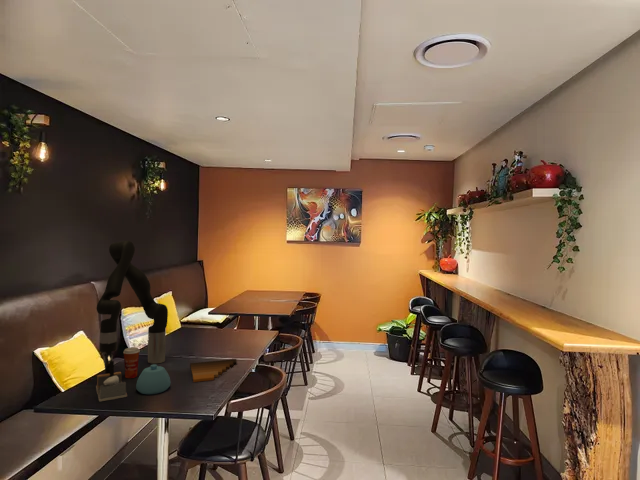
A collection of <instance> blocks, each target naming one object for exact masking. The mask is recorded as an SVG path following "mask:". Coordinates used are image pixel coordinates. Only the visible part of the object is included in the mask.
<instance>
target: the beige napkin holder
mask: <svg viewBox="0 0 640 480" xmlns="http://www.w3.org/2000/svg"><path fill="white" fill-rule="evenodd" d="M95 391H96V394H97V398H98V402H104V401H111V400H117V399H121V398H123V399H124V398H126V397H127V398H128V393H127V382H126V381H121V382H120V383H114V384H108V385H101V386H100V387H97V384H96V385H95Z"/></svg>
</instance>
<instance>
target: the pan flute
mask: <svg viewBox="0 0 640 480" xmlns="http://www.w3.org/2000/svg"><path fill="white" fill-rule="evenodd" d="M237 364H238V363H237V358H231V359H221V360H211V361H210V360H209V361H200V362H199V361H198V362H190V364H189V369H190V373H191V374H190V375H191V378H192V383H198V382H208V381H214V380H215V379H216V378H219V376H220V375H223V373H226V372H227V370H230V369H231V368H234V366H236V365H237Z"/></svg>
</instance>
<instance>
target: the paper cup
mask: <svg viewBox="0 0 640 480" xmlns="http://www.w3.org/2000/svg"><path fill="white" fill-rule="evenodd" d="M140 352H141V350H140V349H139V347H128V348H125V349H124V350H123V361H124V362H123V363H124V365H123V366H124V378H125V379H134V378H137V377H138V370H139V359H140V358H139V357H140Z"/></svg>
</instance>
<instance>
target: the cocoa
mask: <svg viewBox="0 0 640 480" xmlns="http://www.w3.org/2000/svg"><path fill="white" fill-rule="evenodd" d="M114 363H115V361H114V360H112V361H110V377H109V378H108V379H106V380H105V381H104V382H103V383H104V385H108V384H114V383H119V377H118V376H114V373H115V369H114V368H115V364H114Z"/></svg>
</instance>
